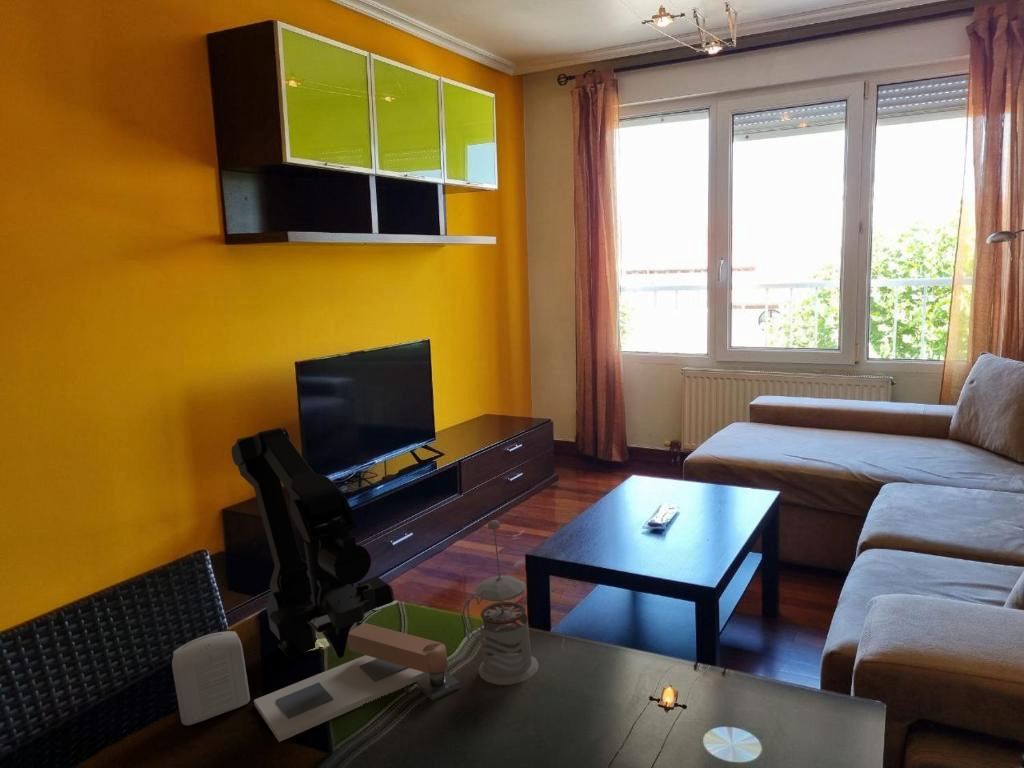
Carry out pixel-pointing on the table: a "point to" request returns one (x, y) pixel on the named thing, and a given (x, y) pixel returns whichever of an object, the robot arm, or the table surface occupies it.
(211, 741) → the table surface
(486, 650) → the french press
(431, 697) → the dark plate
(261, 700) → the panel
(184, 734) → the table surface
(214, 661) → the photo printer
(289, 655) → the robot arm
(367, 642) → the cable arm
